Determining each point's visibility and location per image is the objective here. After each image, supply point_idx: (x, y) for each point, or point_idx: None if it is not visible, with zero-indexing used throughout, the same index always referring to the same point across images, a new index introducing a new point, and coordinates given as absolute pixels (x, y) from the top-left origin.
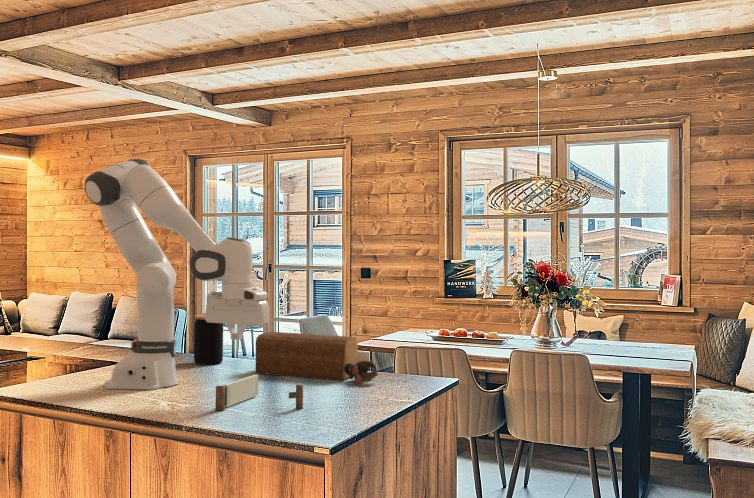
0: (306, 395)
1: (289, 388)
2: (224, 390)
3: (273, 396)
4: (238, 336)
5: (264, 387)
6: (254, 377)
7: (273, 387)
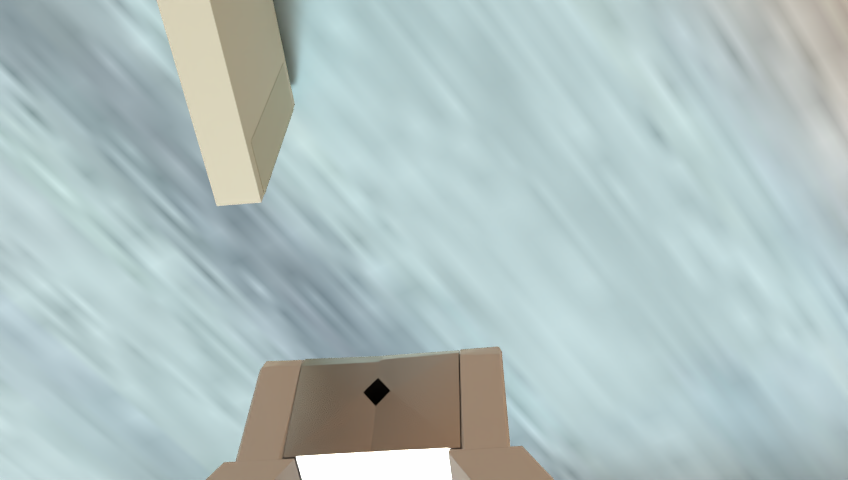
0: None
1: None
2: None
3: (158, 165)
4: (263, 403)
5: None
6: (199, 124)
7: None
